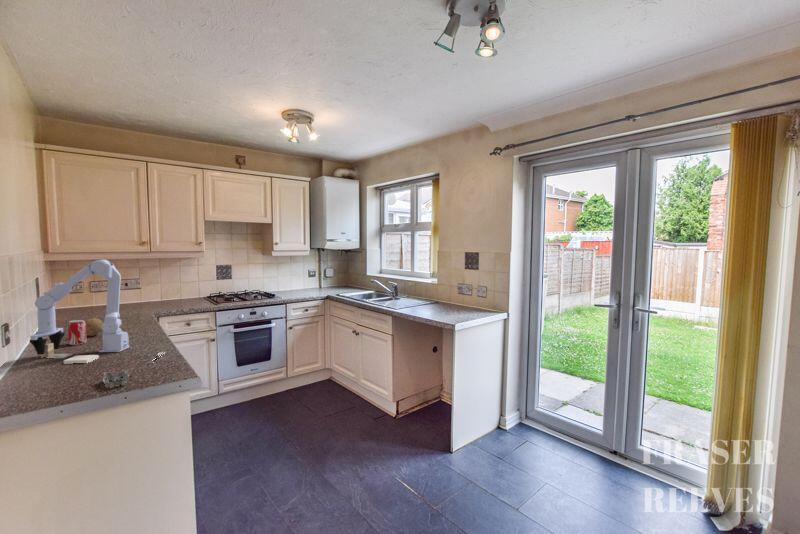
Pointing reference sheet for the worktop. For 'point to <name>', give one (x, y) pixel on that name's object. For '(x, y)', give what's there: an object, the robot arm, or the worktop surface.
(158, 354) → the fork
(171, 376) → the worktop surface
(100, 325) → the natural sponge
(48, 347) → the beige l-shaped block
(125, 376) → the egg carton
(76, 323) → the red and white box
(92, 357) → the tile
